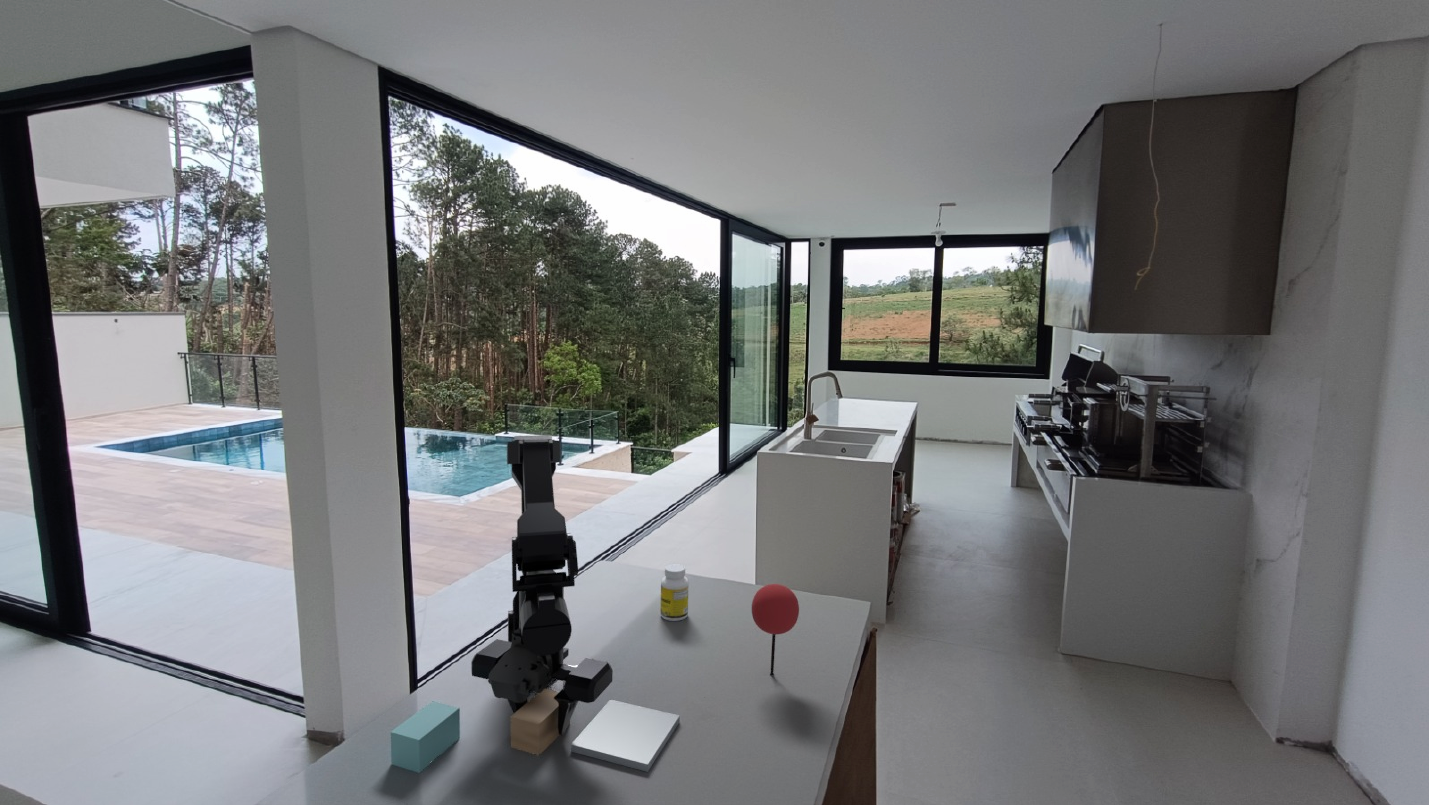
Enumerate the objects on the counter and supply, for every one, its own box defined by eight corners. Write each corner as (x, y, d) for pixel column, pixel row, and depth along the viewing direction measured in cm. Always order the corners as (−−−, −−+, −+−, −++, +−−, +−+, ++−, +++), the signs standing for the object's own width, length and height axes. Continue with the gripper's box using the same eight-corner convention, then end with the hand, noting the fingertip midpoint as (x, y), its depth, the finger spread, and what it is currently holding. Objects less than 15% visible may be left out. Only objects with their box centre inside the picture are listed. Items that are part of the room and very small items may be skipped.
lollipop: (794, 689, 99) (799, 598, 98) (746, 683, 101) (749, 593, 99) (796, 665, 107) (800, 579, 105) (751, 659, 108) (755, 575, 106)
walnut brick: (543, 718, 90) (543, 688, 90) (569, 725, 89) (570, 695, 88) (510, 748, 84) (510, 716, 83) (538, 757, 82) (538, 724, 82)
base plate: (610, 705, 93) (610, 699, 93) (679, 722, 90) (679, 715, 90) (570, 751, 83) (571, 744, 83) (647, 772, 80) (647, 764, 80)
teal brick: (433, 732, 86) (432, 701, 86) (459, 739, 85) (459, 707, 85) (391, 765, 80) (390, 732, 79) (419, 774, 78) (418, 740, 78)
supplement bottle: (656, 612, 125) (657, 564, 124) (681, 608, 128) (683, 561, 127) (665, 623, 120) (667, 574, 119) (692, 619, 123) (693, 570, 122)
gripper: (441, 632, 80) (442, 748, 81) (571, 660, 74) (570, 784, 76) (497, 598, 90) (498, 701, 92) (615, 620, 84) (613, 730, 86)
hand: (541, 728), depth 86 cm, fingers open, 6 cm apart
